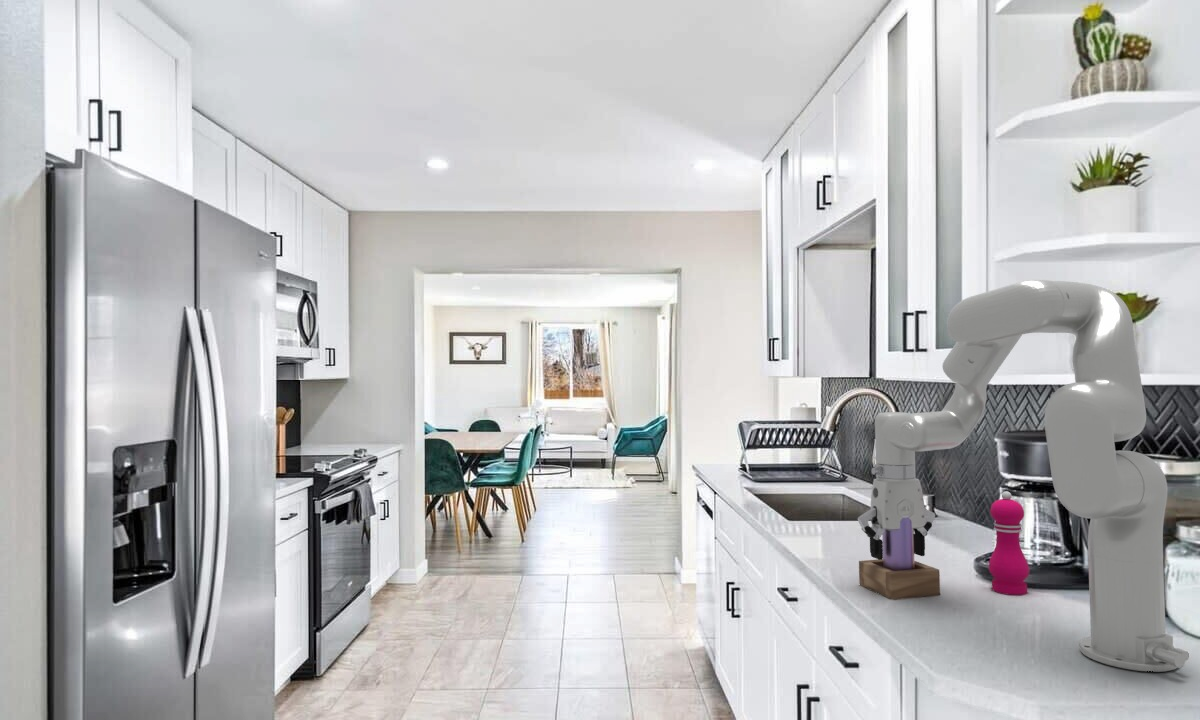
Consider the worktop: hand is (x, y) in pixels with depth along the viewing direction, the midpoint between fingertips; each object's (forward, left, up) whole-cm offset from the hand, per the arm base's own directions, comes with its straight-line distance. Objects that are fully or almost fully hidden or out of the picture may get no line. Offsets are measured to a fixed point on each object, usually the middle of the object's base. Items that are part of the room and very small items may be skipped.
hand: (897, 556), depth 155 cm
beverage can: (0, 0, -6) cm, 6 cm away
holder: (0, 0, -7) cm, 7 cm away
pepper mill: (-7, -20, -7) cm, 23 cm away
